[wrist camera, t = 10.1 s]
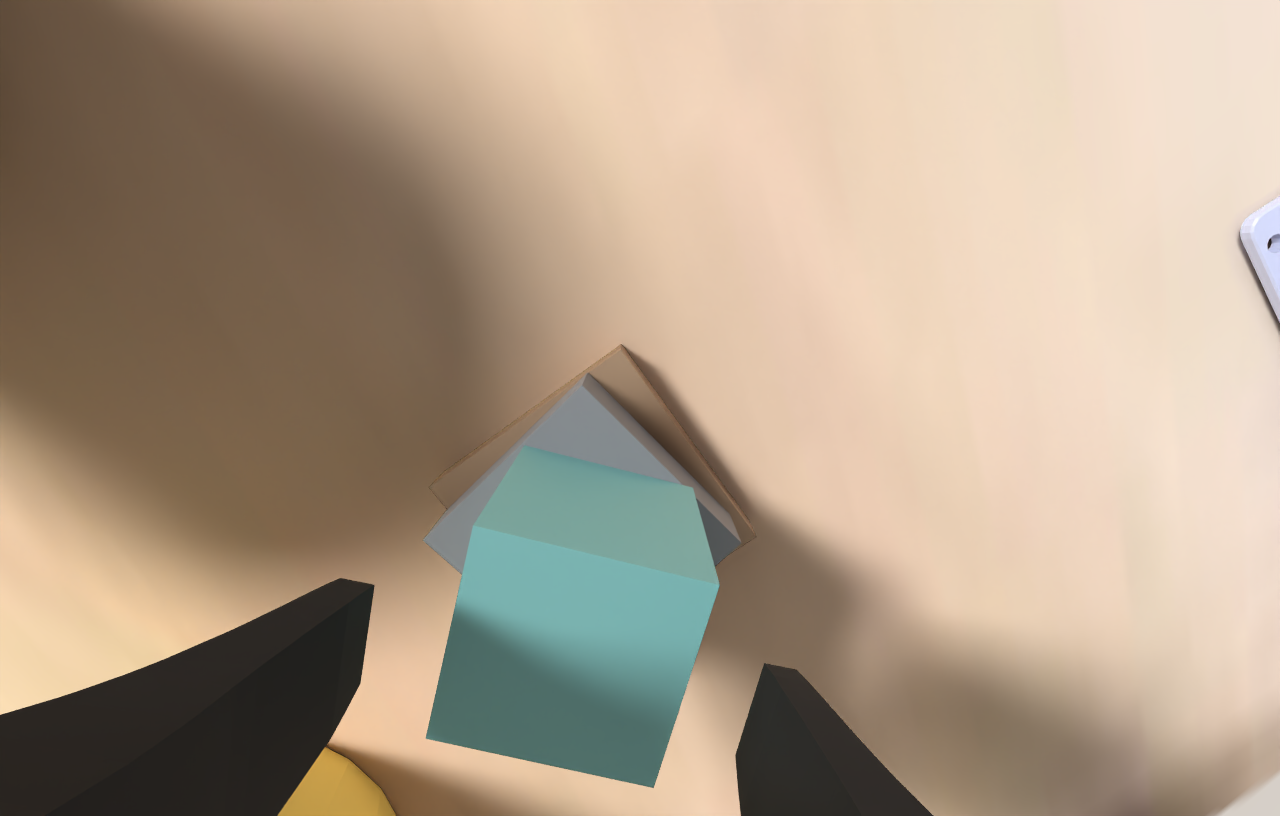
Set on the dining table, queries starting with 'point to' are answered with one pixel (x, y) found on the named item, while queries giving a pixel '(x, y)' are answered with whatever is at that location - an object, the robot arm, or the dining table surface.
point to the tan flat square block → (637, 400)
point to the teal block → (576, 619)
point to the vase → (336, 791)
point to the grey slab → (590, 433)
